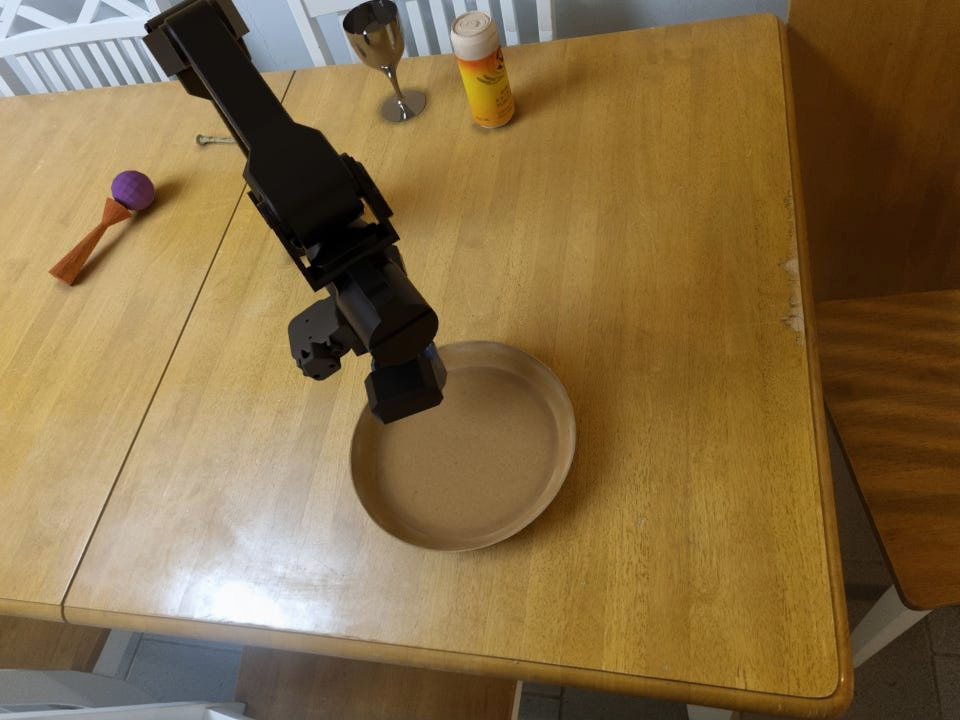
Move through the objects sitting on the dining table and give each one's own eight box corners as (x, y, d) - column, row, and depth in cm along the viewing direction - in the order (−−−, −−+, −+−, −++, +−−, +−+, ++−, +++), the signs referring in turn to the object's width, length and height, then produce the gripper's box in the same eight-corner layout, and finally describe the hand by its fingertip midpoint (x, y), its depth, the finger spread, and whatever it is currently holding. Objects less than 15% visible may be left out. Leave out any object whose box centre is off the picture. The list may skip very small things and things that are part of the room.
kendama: (32, 262, 105) (120, 160, 112) (67, 287, 110) (150, 187, 116) (50, 269, 102) (140, 163, 108) (85, 294, 106) (169, 191, 112)
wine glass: (378, 95, 115) (342, 7, 103) (427, 83, 114) (397, -7, 102) (378, 128, 111) (341, 40, 98) (429, 116, 110) (398, 25, 97)
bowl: (380, 367, 78) (365, 344, 75) (439, 345, 78) (428, 321, 74) (392, 419, 74) (377, 398, 71) (455, 397, 74) (443, 374, 71)
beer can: (511, 130, 104) (489, 35, 92) (470, 131, 106) (443, 39, 93) (518, 101, 107) (498, 6, 95) (479, 103, 109) (453, 10, 96)
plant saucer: (333, 550, 75) (320, 539, 73) (387, 352, 88) (377, 337, 85) (566, 575, 69) (562, 564, 66) (589, 358, 81) (586, 341, 78)
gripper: (261, 237, 68) (327, 332, 81) (284, 400, 57) (355, 479, 70) (373, 195, 67) (421, 297, 80) (418, 352, 57) (465, 440, 70)
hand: (413, 373), depth 75 cm, fingers closed on bowl, 7 cm apart
